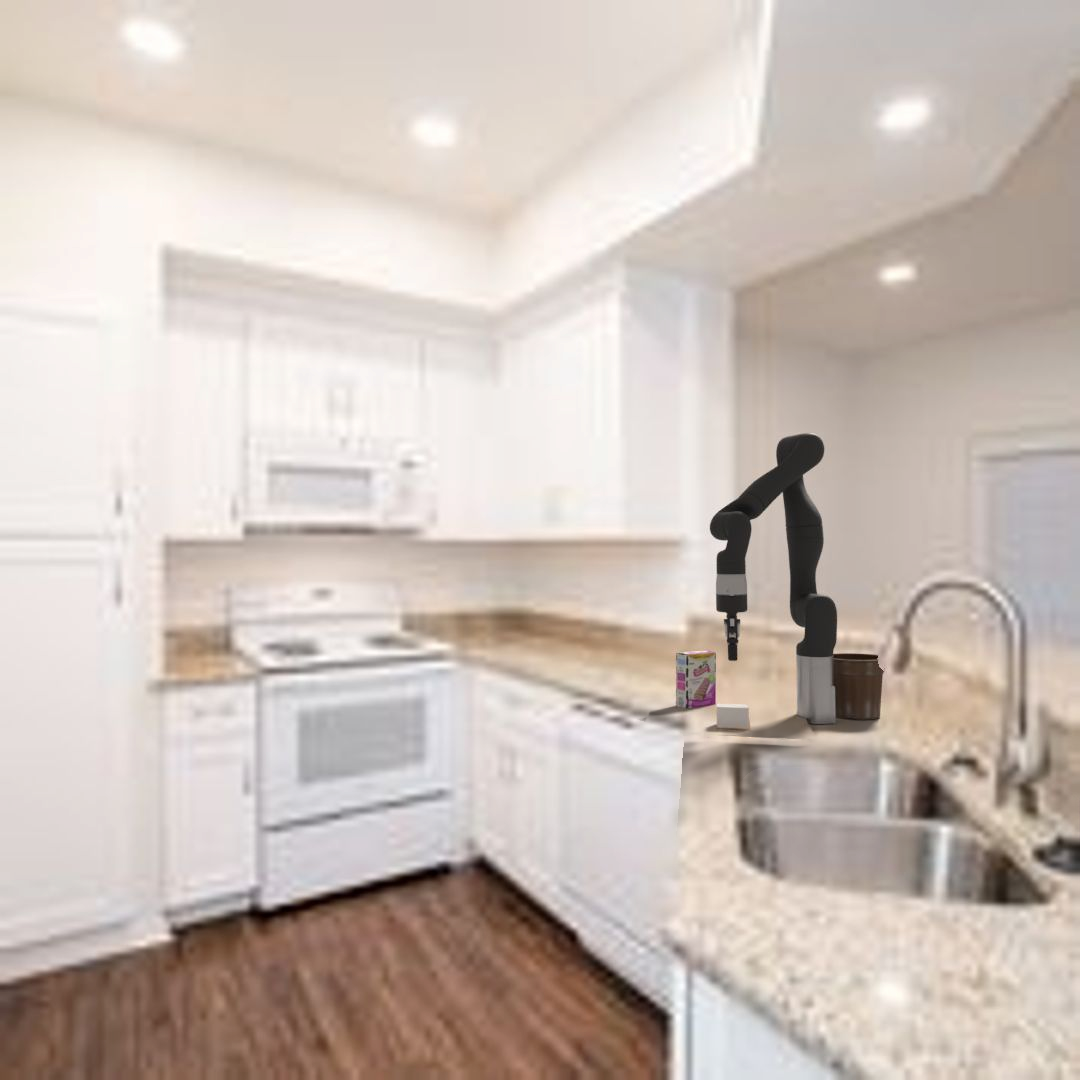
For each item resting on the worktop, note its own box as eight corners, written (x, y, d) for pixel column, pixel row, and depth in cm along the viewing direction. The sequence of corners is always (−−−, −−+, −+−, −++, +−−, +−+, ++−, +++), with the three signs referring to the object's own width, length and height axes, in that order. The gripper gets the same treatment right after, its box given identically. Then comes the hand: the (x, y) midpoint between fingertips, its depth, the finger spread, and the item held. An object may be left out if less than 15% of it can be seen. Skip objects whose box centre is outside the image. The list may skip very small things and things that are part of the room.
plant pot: (810, 712, 221) (809, 654, 221) (856, 708, 227) (855, 651, 227) (853, 724, 206) (852, 661, 206) (901, 719, 212) (900, 658, 212)
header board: (748, 720, 212) (748, 714, 212) (750, 736, 193) (750, 730, 193) (717, 718, 214) (717, 713, 214) (716, 735, 195) (716, 729, 195)
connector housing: (716, 727, 196) (716, 706, 196) (717, 723, 201) (716, 703, 201) (748, 728, 195) (748, 708, 195) (748, 724, 199) (748, 704, 199)
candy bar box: (687, 714, 221) (687, 654, 221) (675, 711, 225) (674, 652, 225) (717, 709, 227) (716, 651, 227) (704, 706, 231) (704, 649, 231)
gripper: (716, 591, 206) (717, 654, 206) (715, 594, 192) (716, 661, 192) (746, 591, 205) (747, 654, 204) (747, 594, 191) (749, 662, 191)
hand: (732, 658), depth 198 cm, fingers open, 8 cm apart
